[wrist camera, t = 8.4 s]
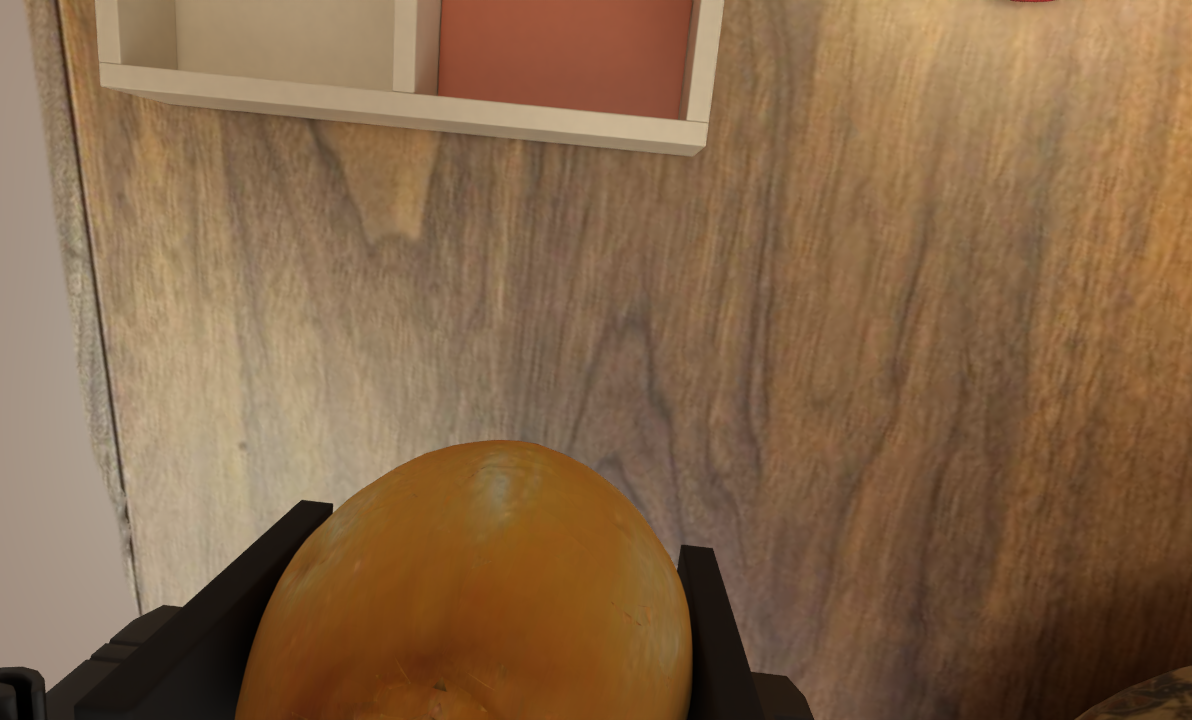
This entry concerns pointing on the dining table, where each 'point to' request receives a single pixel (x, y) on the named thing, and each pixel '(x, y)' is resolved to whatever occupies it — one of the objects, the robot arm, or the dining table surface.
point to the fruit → (476, 601)
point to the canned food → (1032, 0)
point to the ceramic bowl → (1149, 700)
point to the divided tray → (432, 64)
